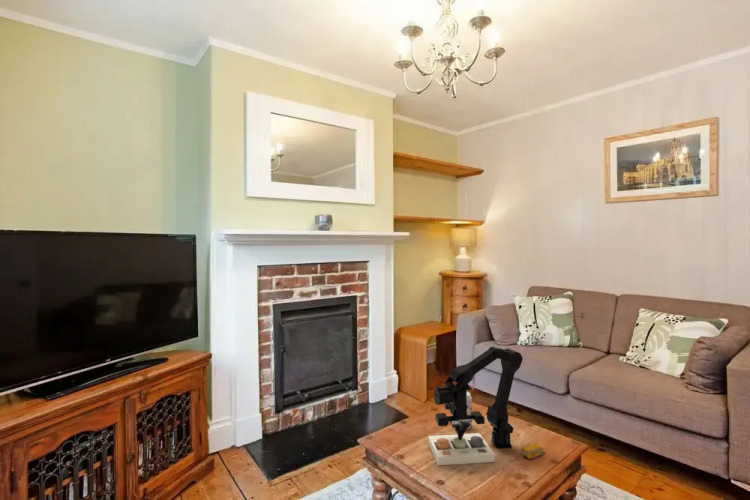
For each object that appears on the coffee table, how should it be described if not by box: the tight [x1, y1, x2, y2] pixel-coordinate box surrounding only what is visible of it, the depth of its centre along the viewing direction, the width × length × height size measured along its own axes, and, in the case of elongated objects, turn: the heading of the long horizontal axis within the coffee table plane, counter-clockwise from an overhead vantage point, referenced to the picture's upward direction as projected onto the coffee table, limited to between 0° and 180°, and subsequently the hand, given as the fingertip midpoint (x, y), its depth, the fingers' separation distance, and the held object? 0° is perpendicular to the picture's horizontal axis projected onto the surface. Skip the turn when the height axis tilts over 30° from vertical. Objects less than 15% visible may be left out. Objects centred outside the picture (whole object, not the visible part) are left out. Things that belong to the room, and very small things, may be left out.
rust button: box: [437, 438, 449, 450], centre depth 153 cm, size 5×5×3 cm
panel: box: [427, 432, 495, 466], centre depth 154 cm, size 22×16×3 cm
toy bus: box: [521, 442, 546, 460], centre depth 151 cm, size 3×10×4 cm, turn 117°
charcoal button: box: [471, 436, 484, 448], centre depth 155 cm, size 5×5×3 cm
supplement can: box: [458, 391, 473, 430], centre depth 175 cm, size 8×8×15 cm
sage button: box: [454, 437, 466, 449], centre depth 154 cm, size 5×5×3 cm
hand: (459, 439), depth 154 cm, fingers closed
